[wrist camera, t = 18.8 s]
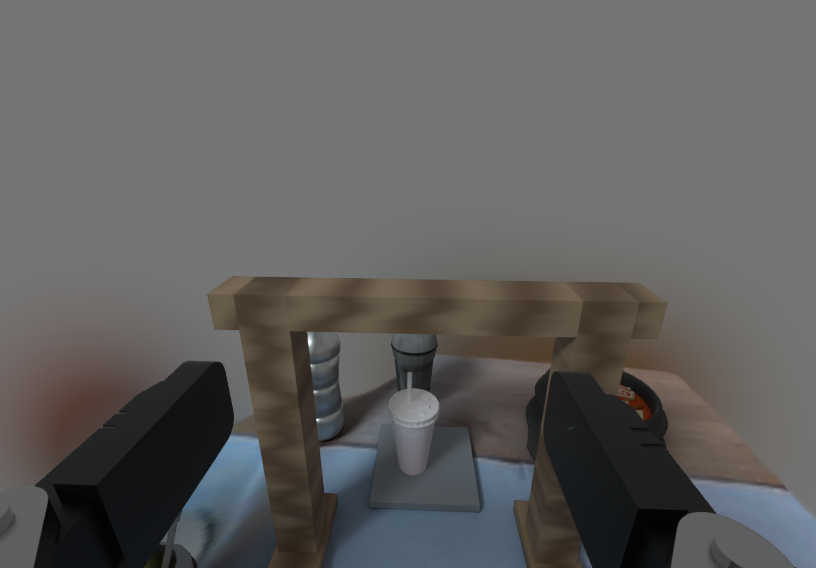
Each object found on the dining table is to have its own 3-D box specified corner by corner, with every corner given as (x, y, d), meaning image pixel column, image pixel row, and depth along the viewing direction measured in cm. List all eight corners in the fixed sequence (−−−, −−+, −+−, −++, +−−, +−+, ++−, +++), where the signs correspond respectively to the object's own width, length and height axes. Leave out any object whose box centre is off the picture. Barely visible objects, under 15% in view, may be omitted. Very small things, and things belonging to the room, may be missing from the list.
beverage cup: (438, 417, 59) (443, 301, 52) (392, 420, 59) (391, 303, 52) (432, 389, 66) (435, 283, 59) (390, 391, 66) (389, 284, 59)
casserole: (554, 375, 71) (561, 335, 68) (673, 417, 60) (687, 372, 57) (494, 456, 52) (499, 407, 49) (648, 539, 41) (667, 482, 38)
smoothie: (395, 441, 53) (395, 356, 48) (440, 449, 52) (444, 362, 47) (382, 478, 47) (380, 385, 42) (432, 489, 46) (436, 394, 41)
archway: (248, 593, 36) (183, 310, 26) (284, 500, 46) (247, 265, 35) (607, 610, 35) (695, 321, 24) (568, 511, 44) (620, 271, 34)
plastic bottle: (293, 441, 55) (276, 317, 48) (318, 411, 61) (306, 297, 54) (332, 452, 53) (321, 324, 46) (354, 420, 59) (347, 303, 52)
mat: (369, 507, 45) (369, 501, 44) (381, 429, 57) (381, 424, 57) (479, 512, 44) (480, 506, 44) (467, 432, 56) (468, 427, 56)
